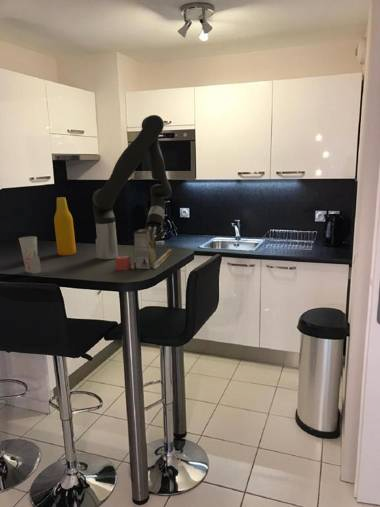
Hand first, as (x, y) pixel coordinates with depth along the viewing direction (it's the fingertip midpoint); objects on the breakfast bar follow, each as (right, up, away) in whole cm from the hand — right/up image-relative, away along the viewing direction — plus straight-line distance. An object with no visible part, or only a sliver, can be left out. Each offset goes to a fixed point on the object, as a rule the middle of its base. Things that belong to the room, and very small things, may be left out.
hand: (149, 248), depth 187 cm
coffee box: (-1, -8, -6) cm, 10 cm away
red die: (-11, -9, -8) cm, 16 cm away
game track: (+1, -6, +4) cm, 7 cm away
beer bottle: (-46, -3, +27) cm, 53 cm away
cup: (-58, -7, +10) cm, 59 cm away
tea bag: (-50, -11, -7) cm, 52 cm away
